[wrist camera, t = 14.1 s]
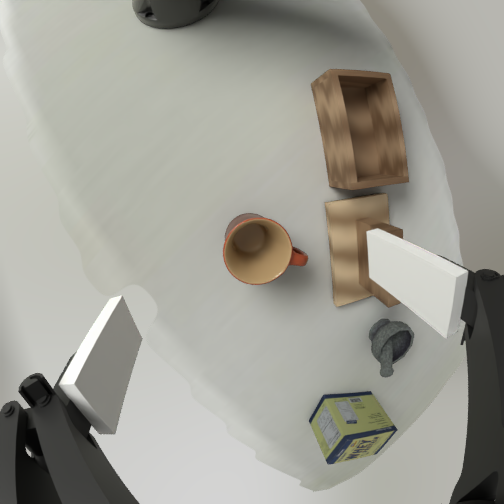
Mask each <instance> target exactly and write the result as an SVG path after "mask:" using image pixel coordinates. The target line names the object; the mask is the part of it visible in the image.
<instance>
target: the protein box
mask: <svg viewBox="0 0 504 504" xmlns="http://www.w3.org/2000/svg"><path fill="white" fill-rule="evenodd" d="M309 422H310V424H311V427H312V429H313V431H314V434H315V436H316V438H317V441H318V443H319V445H320V448H321V450H322V452H323V455H324V457H325V459H326V461H327V464H334V463H339V462H344V461H349V460H353V459H358V458H362V457H366V456H370V455H374V454H377V453H378V452H379V451H380V450H381V448H382V447H383V446H384V445H385V444H386V443H387V442H388V440H389V439H390V438H391V437H392V436H393V435H394V433H395V432H396V431H397V429H396V427H395V426H394V424H393V423H392V421H391V420H390V418H389V417H388V416H387V414H386V413H385V411H384V410H383V408H382V407H381V405H380V404H379V403H378V401H377V400H376V398H375V397H374V395H373V394H372V393H371V391H370V392H359V393H347V394H330V395H323V397H322V398H321V400H320V402H319V404H318V406H317V407H316V409H315V411H314V413H313V414H312V416H311V418H310V420H309Z"/></svg>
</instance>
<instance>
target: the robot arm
mask: <svg viewBox="0 0 504 504" xmlns="http://www.w3.org/2000/svg"><path fill="white" fill-rule="evenodd" d="M217 3H218V0H132V5H133V9H134V12H135V14H136V16H137V17H138V19H139V20H140V21H141V22H143V23H144V24H146V25H149V26H152V27H156V28H176V27H181V26H185V25H188V24H191V23H194V22H196V21H198V20H200V19H202V18H203V17H205V16H206V15H208V14H209V13H210V12H211V11H212V10H213V9H214V8H215V6H216V5H217ZM366 233H367V246H368V261H369V278H371V279H372V280H373V281H375V282H376V283H377V284H378V285H380V286H381V287H382V288H384V289H385V290H386V291H388V292H389V293H390V294H391V295H393V296H394V297H395V298H396V299H398V300H399V301H400V302H402V303H403V304H404V305H405V306H407V307H408V308H409V309H410V310H412V311H413V312H414V313H415V314H417V315H418V316H419V317H420V318H421V319H423V320H424V321H425V322H426V323H428V324H429V325H430V326H431V327H432V328H434V329H435V330H436V331H437V332H438V333H439V334H441V335H442V336H443V337H444V338H445V339H447V338H448V337H450V336H451V335H453V334H454V333H456V332H458V328H459V324H460V319H462V320H463V321H464V322H466V324H465V329H464V333H463V336H462V340H461V345H463V343H464V341H466V351H467V364H468V398H469V400H468V402H469V403H468V425H467V438H466V448H465V455H464V463H463V469H462V473H461V476H460V478H459V480H458V482H457V484H456V486H455V488H454V491H453V493H452V496H451V500H450V503H449V504H504V275H502V276H501V275H500V274H499V273H497V272H496V271H493V270H489V269H482V270H479V271H477V272H476V273H474V272H472V271H470V270H468V269H466V268H464V267H462V266H461V265H459V264H455V262H453V261H449V259H447V258H444V257H442V256H439V255H435V254H433V253H431V252H429V251H427V250H425V249H423V248H421V247H419V246H416V245H414V244H412V243H410V242H408V241H406V240H403V239H401V238H399V237H397V236H394V235H392V234H390V233H388V232H385V231H383V230H381V229H378V228H377V229H373V230H370V231H366ZM141 341H142V337H141V335H140V333H139V331H138V329H137V327H136V325H135V322H134V320H133V318H132V316H131V314H130V312H129V310H128V307H127V305H126V303H125V300H124V298H123V296H118V297H114V298H110V300H109V301H108V303H107V304H106V306H105V307H104V309H103V310H102V312H101V313H100V315H99V317H98V318H97V320H96V321H95V323H94V324H93V326H92V327H91V329H90V331H89V332H88V334H87V336H86V337H85V339H84V341H83V342H82V344H81V346H80V347H79V349H78V351H77V352H76V353H75V354H74V355H73V356H72V357H71V358H70V359H69V361H68V363H67V366H66V367H65V368H64V370H63V372H62V374H61V375H60V377H59V379H58V381H57V383H56V384H55V386H54V389H52V387H51V386H50V385H49V383H48V382H47V380H46V379H45V377H44V376H43V375H42V374H40V373H35V374H33V375H30V376H29V377H27V378H26V379H25V380H24V381H23V382H22V383H21V385H20V387H19V393H20V394H21V396H22V397H23V398H24V399H25V401H26V402H27V403H28V404H29V406H30V407H31V408H27V409H23V408H22V407H21V405H20V404H19V403H18V402H17V401H10V402H9V403H6V404H5V405H4V406H3V408H2V409H1V411H0V504H139V503H138V501H137V500H136V499H135V498H134V496H133V495H132V494H131V492H130V491H129V490H128V488H127V487H126V486H125V484H124V483H123V482H122V481H121V479H120V477H119V476H118V475H117V474H116V472H115V470H114V469H113V467H112V466H111V464H110V463H109V461H108V460H107V458H106V456H105V455H104V453H103V452H102V450H101V448H100V447H99V445H98V443H97V442H96V440H95V438H94V437H93V436H92V435H91V434H90V433H89V430H90V427H91V425H92V426H93V427H94V429H95V430H96V431H97V432H98V433H99V434H115V433H116V429H117V425H118V421H119V417H120V413H121V409H122V405H123V402H124V398H125V394H126V391H127V387H128V384H129V380H130V377H131V373H132V370H133V367H134V364H135V360H136V357H137V354H138V351H139V347H140V345H141ZM25 447H26V448H27V449H28V450H29V451H30V452H31V457H30V456H29V455H28V454H27V452H26V448H25Z"/></svg>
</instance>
